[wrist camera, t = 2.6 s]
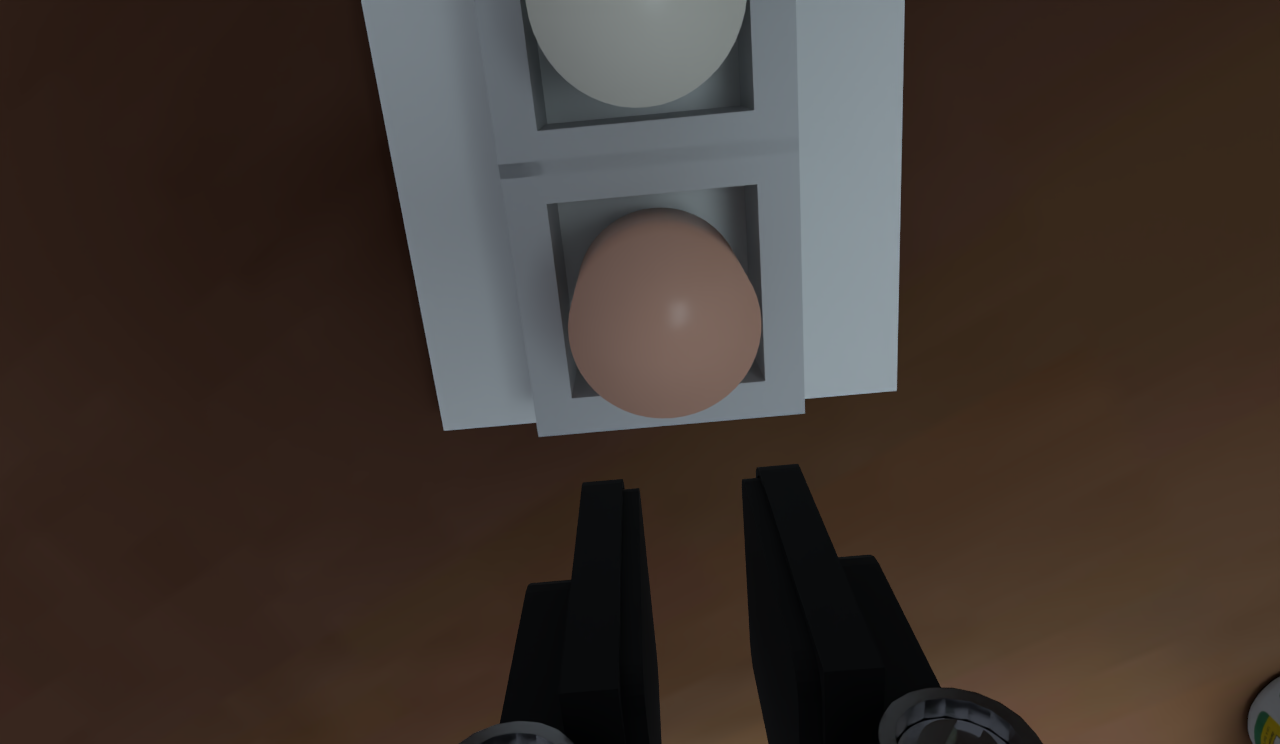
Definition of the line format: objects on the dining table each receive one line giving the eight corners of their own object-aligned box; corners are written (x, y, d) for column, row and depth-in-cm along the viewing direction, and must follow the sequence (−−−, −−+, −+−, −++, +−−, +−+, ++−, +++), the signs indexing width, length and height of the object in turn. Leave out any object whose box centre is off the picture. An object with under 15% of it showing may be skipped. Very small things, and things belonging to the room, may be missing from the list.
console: (289, -489, 22) (195, -642, 17) (892, -556, 21) (965, -731, 17) (455, 408, 31) (424, 469, 26) (880, 370, 30) (925, 426, 26)
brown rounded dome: (567, 215, 24) (556, 243, 20) (737, 200, 24) (757, 224, 20) (587, 374, 26) (579, 426, 22) (745, 359, 26) (765, 409, 22)
